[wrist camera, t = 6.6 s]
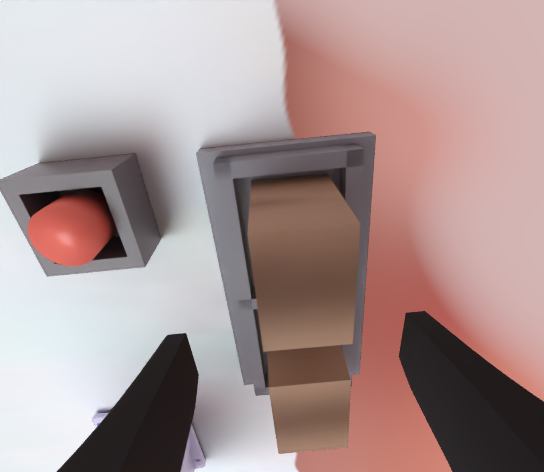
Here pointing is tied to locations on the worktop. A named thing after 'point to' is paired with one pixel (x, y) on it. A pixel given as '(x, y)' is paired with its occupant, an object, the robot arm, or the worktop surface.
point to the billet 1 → (303, 261)
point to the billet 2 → (309, 398)
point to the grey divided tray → (235, 213)
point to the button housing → (104, 180)
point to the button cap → (72, 228)
